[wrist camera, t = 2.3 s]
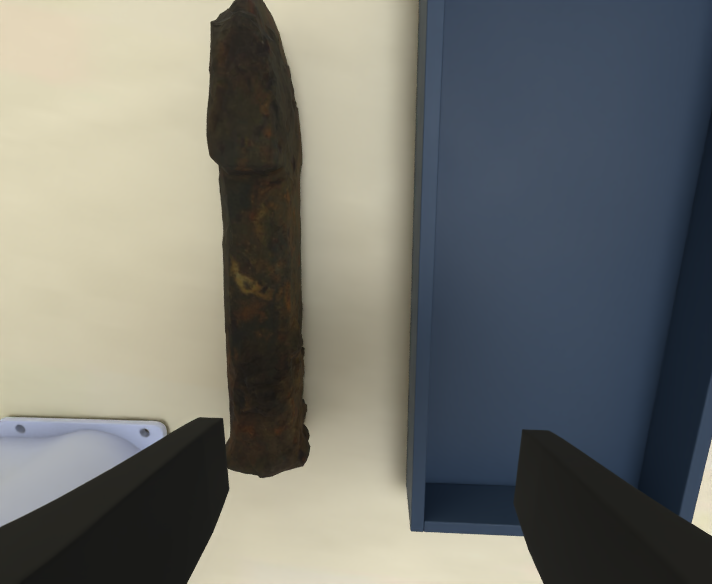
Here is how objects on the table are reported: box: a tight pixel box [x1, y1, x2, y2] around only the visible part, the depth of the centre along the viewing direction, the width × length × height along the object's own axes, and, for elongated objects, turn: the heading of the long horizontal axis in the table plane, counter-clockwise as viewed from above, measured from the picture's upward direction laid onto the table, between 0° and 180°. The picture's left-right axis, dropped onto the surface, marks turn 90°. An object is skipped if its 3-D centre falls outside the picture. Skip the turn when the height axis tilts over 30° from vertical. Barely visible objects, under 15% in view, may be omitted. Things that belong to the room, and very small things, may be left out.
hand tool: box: [207, 0, 310, 478], centre depth 15 cm, size 19×4×5 cm, turn 175°
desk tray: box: [406, 0, 712, 536], centre depth 15 cm, size 12×25×3 cm, turn 0°
